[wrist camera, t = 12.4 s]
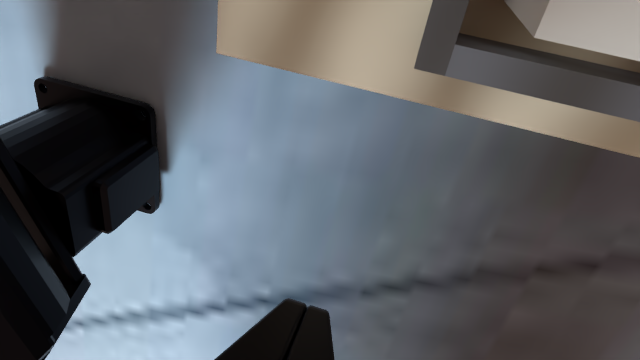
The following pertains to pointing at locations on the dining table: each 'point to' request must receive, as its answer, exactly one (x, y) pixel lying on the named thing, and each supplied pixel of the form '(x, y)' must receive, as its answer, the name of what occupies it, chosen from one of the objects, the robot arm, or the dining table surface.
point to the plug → (584, 24)
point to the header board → (445, 62)
